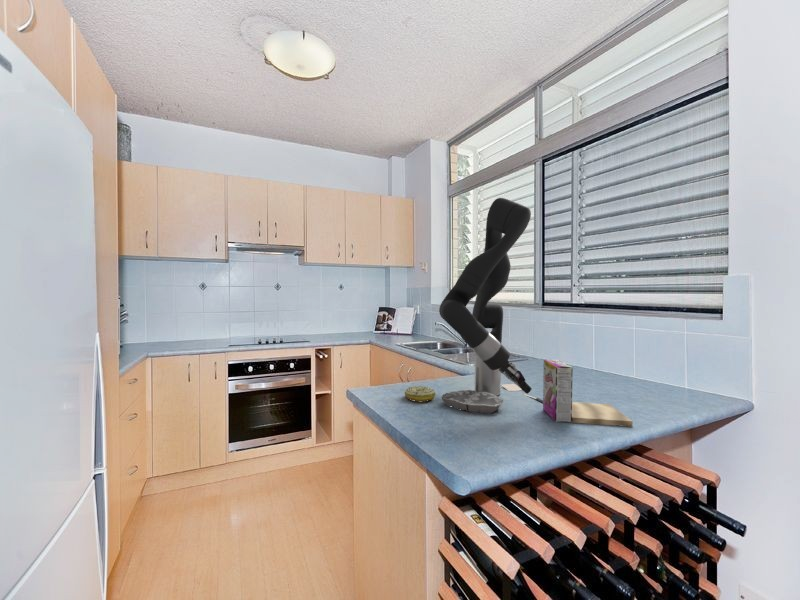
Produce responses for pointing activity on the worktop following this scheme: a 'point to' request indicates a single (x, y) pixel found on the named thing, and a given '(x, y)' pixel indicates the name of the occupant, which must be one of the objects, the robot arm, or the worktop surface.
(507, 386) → the spatula
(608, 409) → the bamboo board
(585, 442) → the worktop surface
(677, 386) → the worktop surface
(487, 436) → the worktop surface
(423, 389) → the decorated donut
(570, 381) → the candy bar box
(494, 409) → the flat grey stone
